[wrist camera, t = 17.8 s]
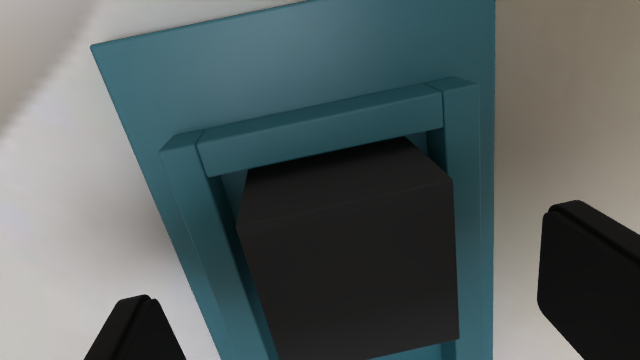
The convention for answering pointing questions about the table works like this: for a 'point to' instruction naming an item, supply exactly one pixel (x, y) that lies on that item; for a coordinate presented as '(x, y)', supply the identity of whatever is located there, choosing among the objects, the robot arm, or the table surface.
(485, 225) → the dock
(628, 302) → the robot arm
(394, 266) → the black block
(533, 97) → the table surface
